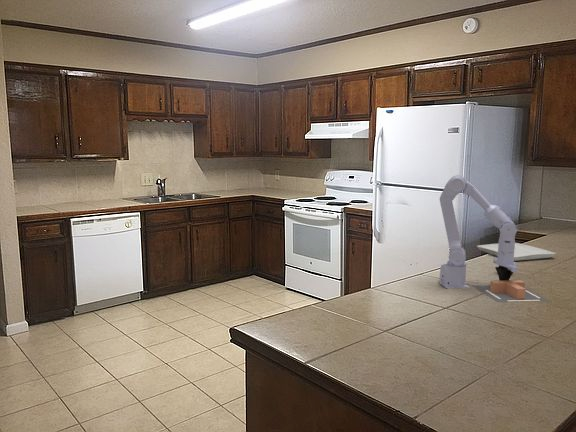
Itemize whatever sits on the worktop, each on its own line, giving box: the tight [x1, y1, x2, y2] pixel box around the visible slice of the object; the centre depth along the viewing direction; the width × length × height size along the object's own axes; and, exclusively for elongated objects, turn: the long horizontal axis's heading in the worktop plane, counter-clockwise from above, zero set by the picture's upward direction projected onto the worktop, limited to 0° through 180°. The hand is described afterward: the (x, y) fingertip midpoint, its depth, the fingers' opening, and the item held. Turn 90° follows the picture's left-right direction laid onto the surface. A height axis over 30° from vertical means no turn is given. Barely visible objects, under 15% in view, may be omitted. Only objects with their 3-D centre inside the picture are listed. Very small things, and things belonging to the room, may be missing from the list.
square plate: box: [476, 242, 557, 262], centre depth 244 cm, size 27×27×4 cm
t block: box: [489, 279, 526, 300], centre depth 177 cm, size 12×11×4 cm
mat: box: [472, 285, 551, 303], centre depth 179 cm, size 20×20×1 cm
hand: (503, 285), depth 183 cm, fingers closed
